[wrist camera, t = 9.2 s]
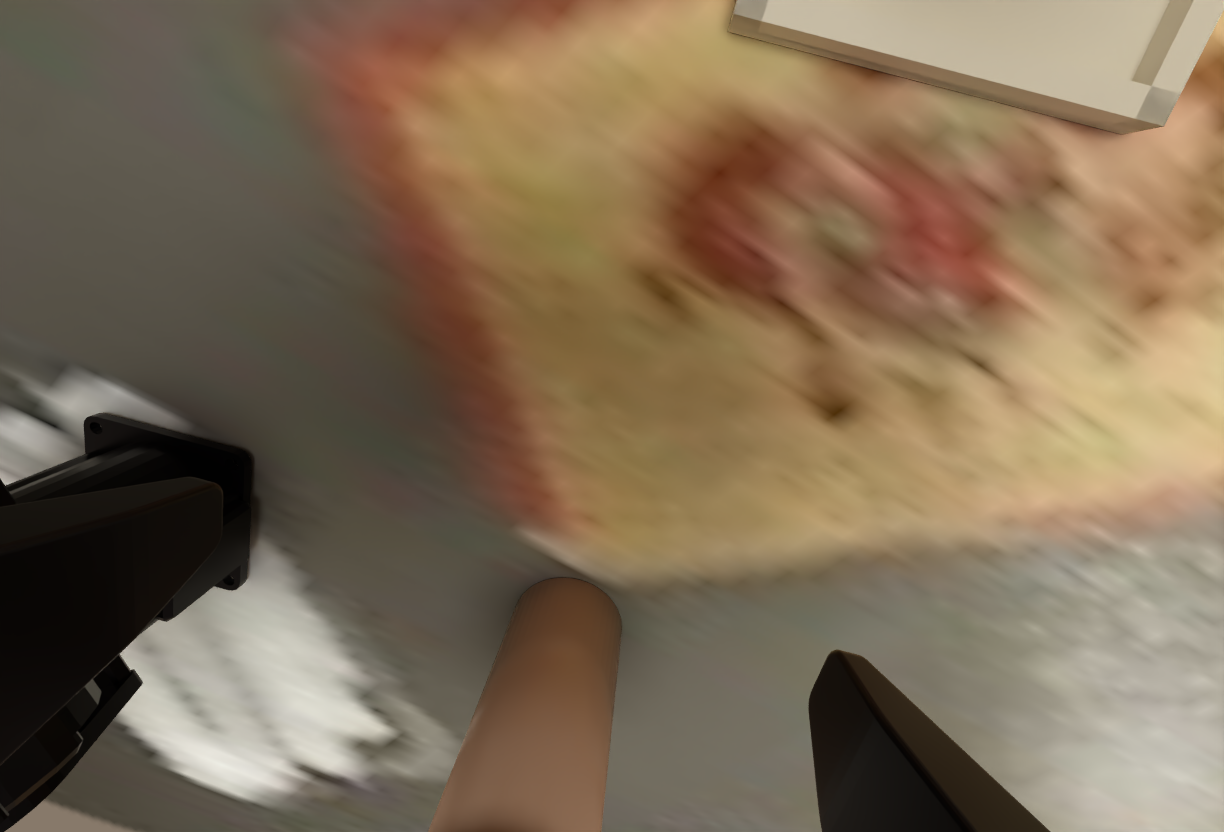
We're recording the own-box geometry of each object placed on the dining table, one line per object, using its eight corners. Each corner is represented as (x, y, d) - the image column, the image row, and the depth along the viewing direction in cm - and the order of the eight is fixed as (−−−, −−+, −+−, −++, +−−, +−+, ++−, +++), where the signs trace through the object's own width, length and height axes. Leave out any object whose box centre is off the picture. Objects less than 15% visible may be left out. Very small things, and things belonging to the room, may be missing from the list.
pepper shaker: (501, 654, 25) (366, 1014, 14) (522, 562, 23) (389, 881, 12) (608, 683, 25) (563, 1066, 14) (637, 592, 23) (612, 940, 12)
